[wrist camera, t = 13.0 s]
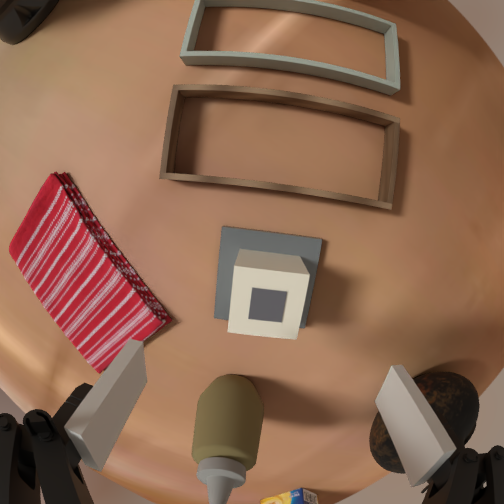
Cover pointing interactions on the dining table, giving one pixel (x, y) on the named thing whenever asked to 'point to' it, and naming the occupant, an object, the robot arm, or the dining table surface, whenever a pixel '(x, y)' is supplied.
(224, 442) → the squeeze bottle
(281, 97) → the walnut frame
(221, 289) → the slate tile
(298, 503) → the beverage box
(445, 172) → the dining table surface
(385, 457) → the glass bottle
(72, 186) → the dish towel
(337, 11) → the grey frame
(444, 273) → the dining table surface
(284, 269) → the cream cube
